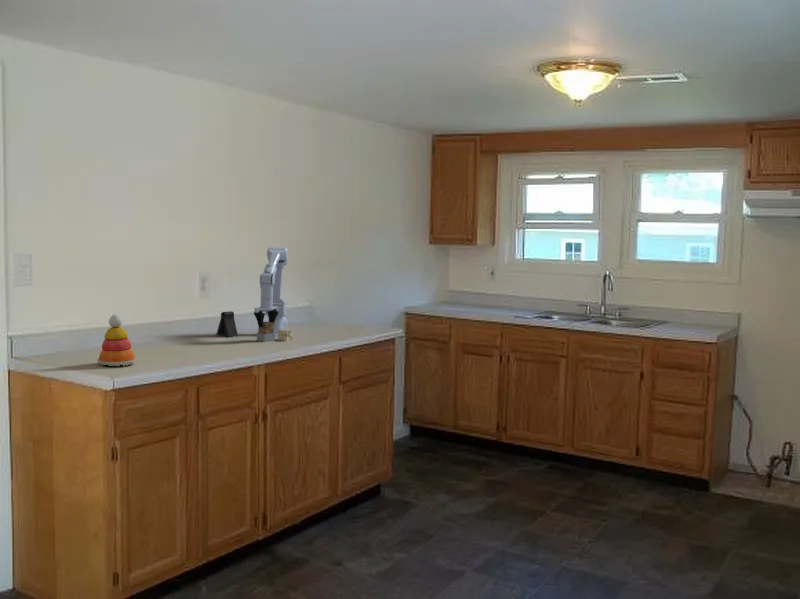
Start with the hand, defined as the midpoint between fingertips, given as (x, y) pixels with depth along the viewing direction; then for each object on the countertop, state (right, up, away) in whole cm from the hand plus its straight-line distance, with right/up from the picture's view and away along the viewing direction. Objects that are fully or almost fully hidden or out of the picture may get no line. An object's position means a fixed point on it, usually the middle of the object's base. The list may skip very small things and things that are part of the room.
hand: (266, 326), depth 385 cm
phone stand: (-21, -5, +11) cm, 24 cm away
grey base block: (0, -7, +1) cm, 7 cm away
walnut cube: (0, -3, 0) cm, 3 cm away
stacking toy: (-45, -12, -74) cm, 88 cm away
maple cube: (+8, -7, +5) cm, 12 cm away
